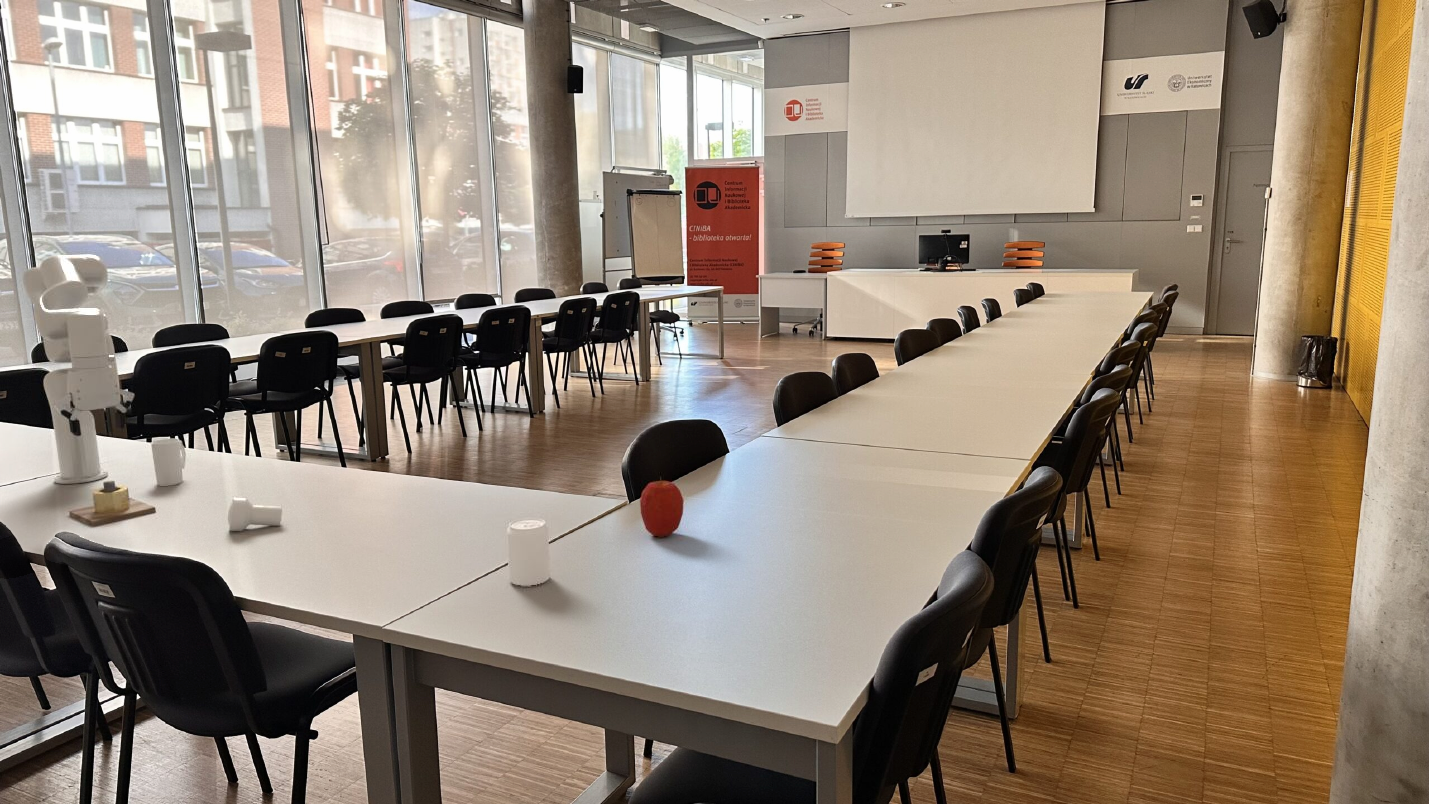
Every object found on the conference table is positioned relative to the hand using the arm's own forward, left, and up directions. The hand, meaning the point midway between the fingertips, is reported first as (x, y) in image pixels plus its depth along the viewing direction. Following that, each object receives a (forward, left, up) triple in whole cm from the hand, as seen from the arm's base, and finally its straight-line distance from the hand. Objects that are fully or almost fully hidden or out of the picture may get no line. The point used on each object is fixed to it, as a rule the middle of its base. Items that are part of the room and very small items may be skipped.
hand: (99, 431), depth 228 cm
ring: (+2, 0, -20) cm, 20 cm away
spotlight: (+42, +15, -21) cm, 49 cm away
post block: (+2, 0, -21) cm, 21 cm away
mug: (-17, +23, -21) cm, 36 cm away
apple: (+124, +67, -21) cm, 142 cm away
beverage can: (+120, +30, -21) cm, 125 cm away
